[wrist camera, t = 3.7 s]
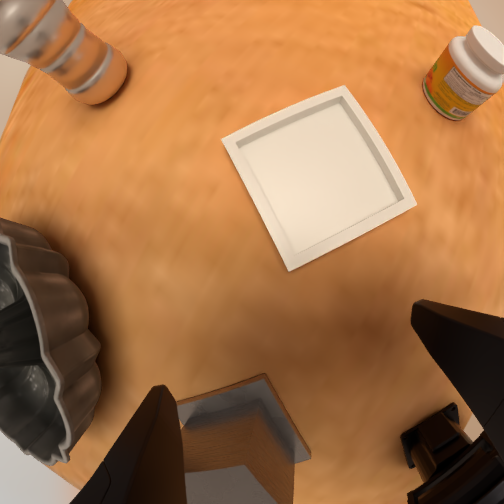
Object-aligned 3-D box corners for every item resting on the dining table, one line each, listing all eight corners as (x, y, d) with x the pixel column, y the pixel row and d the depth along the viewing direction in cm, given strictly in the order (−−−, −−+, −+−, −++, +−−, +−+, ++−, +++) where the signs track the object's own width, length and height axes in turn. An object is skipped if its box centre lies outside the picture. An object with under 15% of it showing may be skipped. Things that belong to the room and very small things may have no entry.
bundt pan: (160, 265, 21) (76, 277, 12) (119, 459, 23) (78, 504, 13) (12, 191, 25) (-43, 181, 15) (-1, 354, 26) (-44, 368, 16)
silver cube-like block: (310, 452, 20) (313, 523, 11) (227, 472, 21) (205, 534, 12) (265, 373, 20) (248, 443, 11) (175, 402, 21) (128, 459, 12)
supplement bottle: (434, 67, 18) (473, 12, 8) (472, 105, 17) (523, 62, 7) (412, 89, 18) (455, 26, 8) (453, 131, 18) (513, 85, 8)
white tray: (407, 207, 19) (417, 204, 17) (288, 269, 20) (288, 271, 18) (341, 96, 19) (344, 85, 17) (226, 147, 20) (220, 139, 19)
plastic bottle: (141, 56, 22) (36, -56, 2) (124, 107, 22) (-22, 1, 2) (98, 68, 22) (-8, -15, 3) (80, 116, 23) (-53, 44, 3)
